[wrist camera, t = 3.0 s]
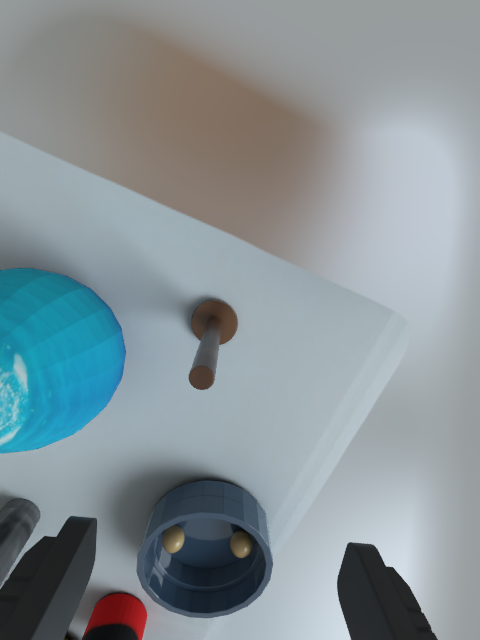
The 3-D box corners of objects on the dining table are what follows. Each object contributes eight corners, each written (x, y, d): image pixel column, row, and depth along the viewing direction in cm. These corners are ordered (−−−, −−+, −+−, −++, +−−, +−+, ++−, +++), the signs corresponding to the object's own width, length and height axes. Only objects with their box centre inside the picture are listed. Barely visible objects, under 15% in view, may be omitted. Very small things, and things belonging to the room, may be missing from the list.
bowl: (274, 482, 37) (281, 518, 32) (258, 575, 41) (262, 621, 36) (152, 472, 36) (139, 507, 31) (146, 568, 40) (134, 614, 35)
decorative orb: (123, 411, 34) (44, 529, 20) (-6, 369, 33) (-197, 464, 18) (163, 294, 31) (103, 331, 17) (22, 242, 30) (-180, 232, 15)
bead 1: (186, 520, 37) (183, 541, 35) (185, 537, 38) (181, 559, 35) (165, 519, 37) (160, 540, 35) (163, 536, 38) (158, 558, 35)
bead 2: (252, 525, 38) (254, 546, 35) (249, 542, 39) (251, 564, 36) (231, 523, 38) (231, 544, 35) (229, 541, 38) (228, 563, 36)
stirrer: (240, 302, 32) (247, 344, 17) (234, 345, 33) (237, 418, 18) (194, 297, 31) (163, 334, 17) (190, 340, 33) (158, 410, 18)
